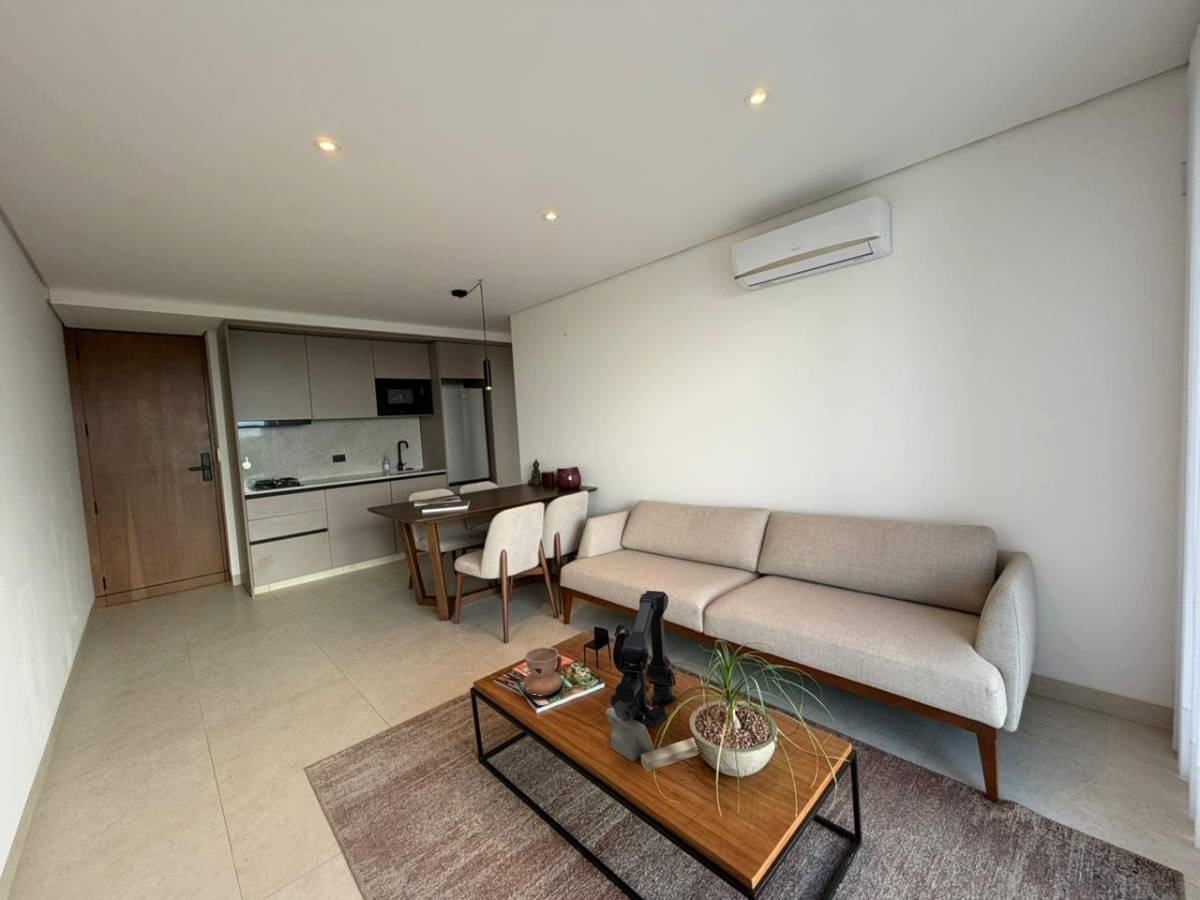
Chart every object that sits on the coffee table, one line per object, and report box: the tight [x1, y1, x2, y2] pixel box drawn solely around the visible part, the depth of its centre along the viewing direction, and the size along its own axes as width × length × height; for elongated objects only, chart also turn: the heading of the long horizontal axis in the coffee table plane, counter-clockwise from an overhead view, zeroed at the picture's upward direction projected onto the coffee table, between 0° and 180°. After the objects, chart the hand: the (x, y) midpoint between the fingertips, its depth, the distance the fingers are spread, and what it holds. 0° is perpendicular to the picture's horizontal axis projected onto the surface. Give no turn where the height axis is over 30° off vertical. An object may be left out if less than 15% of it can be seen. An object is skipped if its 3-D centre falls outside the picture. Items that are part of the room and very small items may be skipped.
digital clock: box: [605, 707, 656, 762], centre depth 149 cm, size 16×9×11 cm, turn 32°
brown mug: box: [522, 646, 563, 695], centre depth 185 cm, size 18×14×14 cm
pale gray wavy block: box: [640, 737, 700, 773], centre depth 143 cm, size 18×4×3 cm, turn 111°
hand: (639, 734), depth 150 cm, fingers closed
